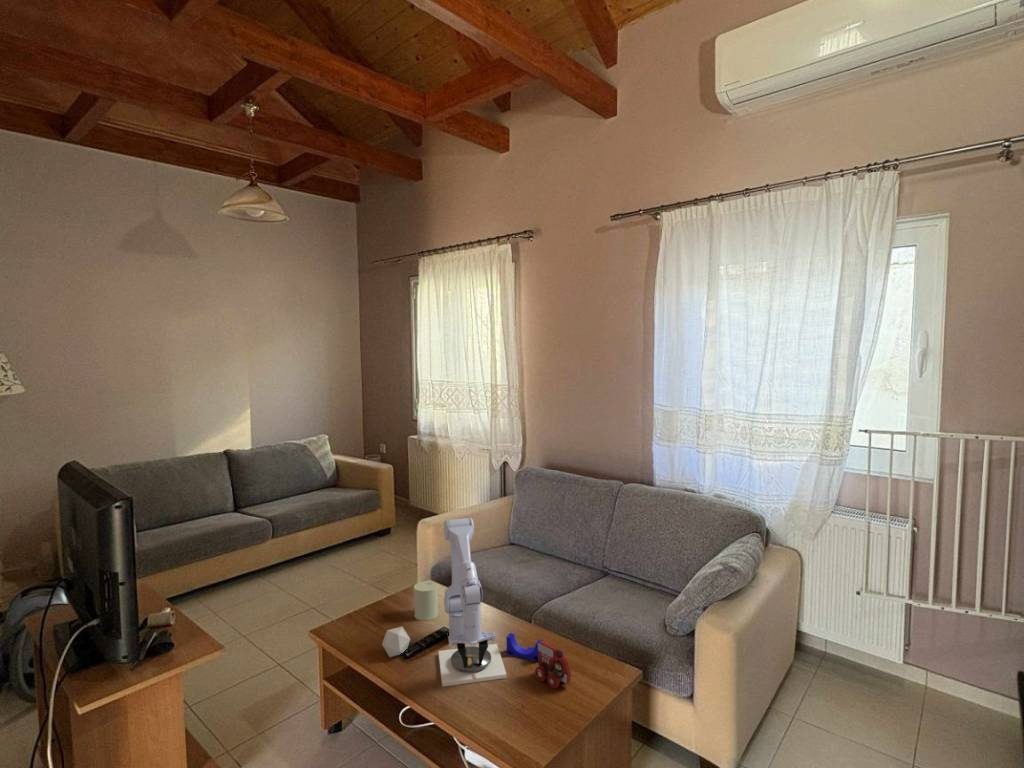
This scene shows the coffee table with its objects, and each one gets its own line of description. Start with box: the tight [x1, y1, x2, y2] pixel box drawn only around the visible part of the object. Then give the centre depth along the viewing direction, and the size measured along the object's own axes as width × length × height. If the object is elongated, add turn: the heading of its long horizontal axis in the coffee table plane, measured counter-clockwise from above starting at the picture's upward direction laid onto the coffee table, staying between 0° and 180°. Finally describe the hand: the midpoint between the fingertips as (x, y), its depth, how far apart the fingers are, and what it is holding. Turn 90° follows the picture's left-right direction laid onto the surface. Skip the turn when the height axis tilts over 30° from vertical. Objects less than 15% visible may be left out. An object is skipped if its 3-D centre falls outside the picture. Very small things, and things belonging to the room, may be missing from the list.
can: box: [413, 580, 439, 621], centre depth 207 cm, size 9×9×12 cm
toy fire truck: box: [534, 640, 572, 690], centre depth 164 cm, size 7×12×10 cm, turn 44°
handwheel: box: [451, 645, 491, 672], centre depth 172 cm, size 13×13×4 cm
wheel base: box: [438, 643, 508, 688], centre depth 172 cm, size 18×20×2 cm
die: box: [381, 626, 411, 658], centre depth 180 cm, size 8×9×10 cm
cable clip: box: [505, 632, 544, 662], centre depth 178 cm, size 12×4×6 cm, turn 66°
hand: (472, 664), depth 167 cm, fingers open, 4 cm apart
